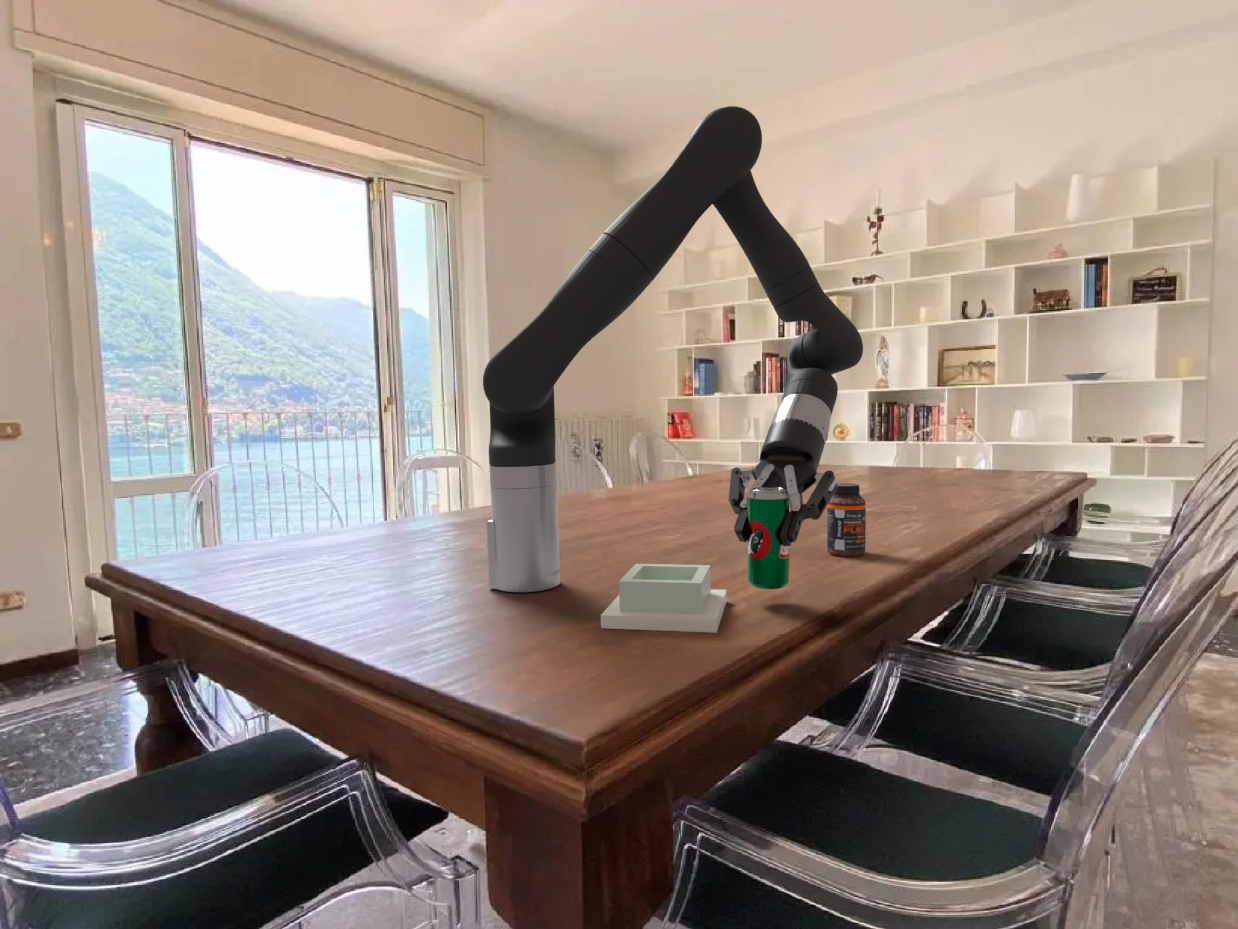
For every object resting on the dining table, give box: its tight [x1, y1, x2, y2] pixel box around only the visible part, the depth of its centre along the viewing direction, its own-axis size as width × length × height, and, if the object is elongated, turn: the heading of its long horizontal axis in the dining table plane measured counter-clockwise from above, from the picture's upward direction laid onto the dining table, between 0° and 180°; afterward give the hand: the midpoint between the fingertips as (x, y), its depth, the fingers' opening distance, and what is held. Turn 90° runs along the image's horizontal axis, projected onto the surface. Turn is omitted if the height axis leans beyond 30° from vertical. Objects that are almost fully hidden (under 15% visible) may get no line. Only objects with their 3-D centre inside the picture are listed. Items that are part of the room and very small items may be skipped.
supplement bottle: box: [826, 482, 867, 557], centre depth 121 cm, size 6×6×11 cm
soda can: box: [746, 487, 791, 590], centre depth 92 cm, size 5×5×12 cm
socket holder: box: [600, 563, 728, 634], centre depth 90 cm, size 13×13×5 cm
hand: (762, 539), depth 91 cm, fingers closed on soda can, 5 cm apart
